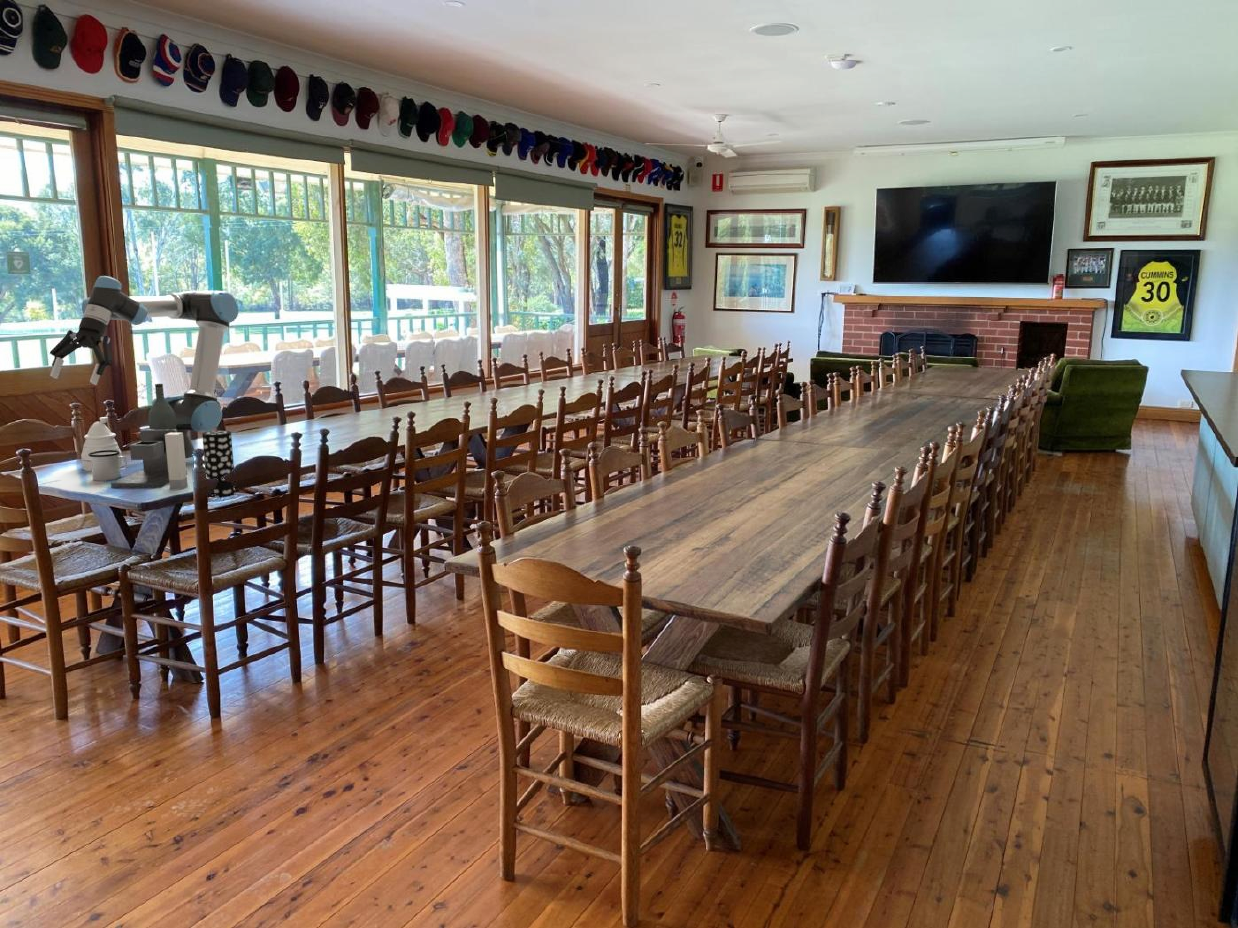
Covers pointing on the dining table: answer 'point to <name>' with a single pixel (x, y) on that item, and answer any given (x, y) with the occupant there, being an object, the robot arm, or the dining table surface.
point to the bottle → (161, 412)
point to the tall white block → (176, 460)
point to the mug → (106, 465)
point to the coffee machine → (148, 461)
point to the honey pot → (98, 442)
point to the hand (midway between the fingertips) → (73, 380)
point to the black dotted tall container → (219, 460)
